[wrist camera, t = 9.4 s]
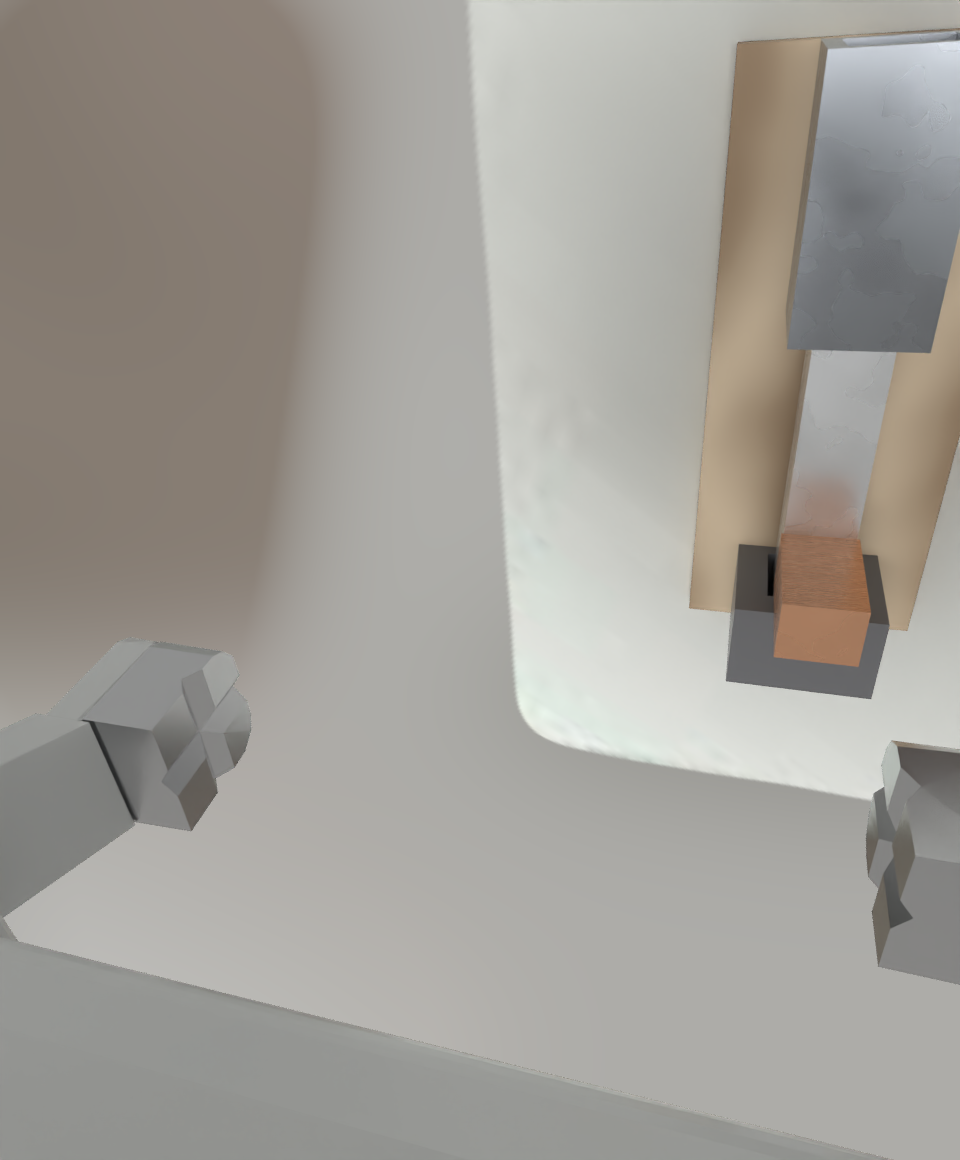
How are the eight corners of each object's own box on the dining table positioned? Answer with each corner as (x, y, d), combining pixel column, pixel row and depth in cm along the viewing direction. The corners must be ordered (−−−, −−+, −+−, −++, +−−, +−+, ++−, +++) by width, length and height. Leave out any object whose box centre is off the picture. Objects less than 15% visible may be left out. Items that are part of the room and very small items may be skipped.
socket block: (877, 555, 39) (889, 625, 34) (861, 626, 41) (870, 699, 37) (738, 544, 40) (734, 609, 36) (730, 612, 42) (725, 681, 38)
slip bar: (901, 277, 31) (932, 353, 25) (833, 612, 40) (843, 729, 34) (813, 276, 32) (822, 350, 26) (765, 605, 41) (763, 718, 34)
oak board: (1062, 21, 28) (1070, 23, 27) (904, 618, 41) (907, 630, 40) (738, 42, 30) (737, 44, 29) (690, 596, 44) (689, 608, 43)
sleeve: (974, 29, 27) (1004, 38, 24) (913, 310, 33) (930, 353, 29) (821, 39, 29) (828, 49, 25) (785, 308, 34) (787, 349, 30)
